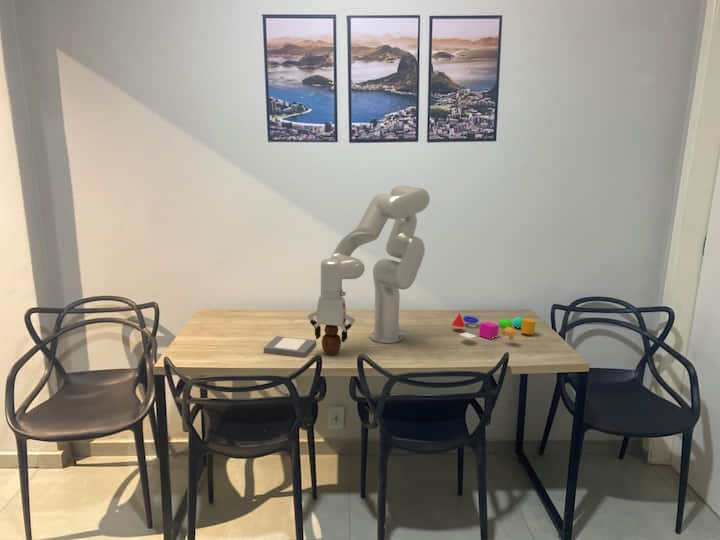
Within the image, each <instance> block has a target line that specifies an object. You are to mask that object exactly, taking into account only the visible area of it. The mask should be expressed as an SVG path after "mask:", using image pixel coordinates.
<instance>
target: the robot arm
mask: <svg viewBox="0 0 720 540" xmlns="http://www.w3.org/2000/svg"><path fill="white" fill-rule="evenodd" d="M430 198H431V197H430V194H429V193H428V191H427V190H426V189H424V188H422V187H417V186H415V187H414V186H408V185H407V186H406V185H398V186H395V187H393V188H392V189H391V191H390V194H389V193H387V194H386V193H379V194H376V195H375V196H374V197H373V198H372V199H371V201H370V203H369V205H368V207H367V209H366V210H365V212H364V214H363V216H362V217H361V219H360V221H359V223H358V225H357V226H356V227H355V228H354V229H353V230H352V231H350V232H349V233H348V234H347V235H346V236H345V237H343V238H342V239H341V240H340V242H338V243H337V246H336V247H335V249H334V251H333V253H332V255H331V257H330V258H325V259H323V260H322V261H321V262H320V296H319V297H318V300H317V307H316V311H314V312H312V313H309V314H308V315H307V318H308V320H309V323H310V325H312V327H313V328H314V336H315V339H316V340H318V339H320V338H321V330H322V329H321V325H325V326H326V325H332V326H338V327H339V328H340V329H341V330H342V331H341V343H344V342H345V341H346V340H347V339H348V330H349V329H350V328H351V327H352V326H353V325H354V323H355V321H356V320H355V318H354V317H352V316H350V315H349V314H347V309H346V301H345V296H346V295H347V292H346V291H343V280H356V279H359V278H361V276H362V275H364V273H365V265H364V263H363V261H362V260H360V259H358V258H357V257H354V256H353V257H352V254H353V253H354V251H355V250H357V249H358V248H359V247H361V246H363V245H366V244H368V243H371V242H374V241H376V240H378V238H379V236H380V235H381V232H382V231H383V228H384V227H385V225H386V223H387V222H388V219H392V220H394V223H393V225H392V228H391V230H390V231H391V232H390V233H389V236H388V239H387V242H386V245H385V250H386V253H387V254H388V256H391V257H394V258H397V259H400V261H397V260H394V259H389V258H383V259H379V260H378V261H376V263H375V264H374V266H373V268H372V277H373V283H374V330H373V331H372V332H371V333H370V339H371V340H372V341H374V342H376V343H378V344H379V343H381V344H395V343H398V342H401V341H402V340H403V337H407V338H410V331H408V330H407V329H402V328H401V325H399V324H400V301H401V300H400V299H401V298H400V297H401V296H400V290H407V289H409V288H411V287H412V286H413V284H414V282H415V280H416V277H417V275H418V272H419V270H420V267H421V264H422V262H423V259H424V256H425V251H426V249H425V243H424V241H423V239H422V238H419V237H418V236H414V235H415V232H416V228H417V223H418V218H417V215H416V214H418V213H421V212H422V211H424V210H425V209H426V208H427V207H428V206H429V204H430V200H431V199H430ZM314 317H316V320H315V319H314ZM346 321H348V322H349V323H348V324H347V323H346Z"/></svg>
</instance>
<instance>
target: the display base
mask: <svg viewBox="0 0 720 540" xmlns="http://www.w3.org/2000/svg"><path fill="white" fill-rule="evenodd" d="M316 347H317V339H316V340H315V339H306V338H298V337H289V336H288V337H287V336H281V335H276V336H275V337H274V338H273V339H272V340H270V342H269V343H267V344H266V345H264V347H263V354H271V355H278V356H279V355H280V356H288V357H297V358H305V359H306V357H308V356H309V354H311V352H312V351H313V350H314V349H315V348H316Z"/></svg>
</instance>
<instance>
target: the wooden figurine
mask: <svg viewBox="0 0 720 540" xmlns="http://www.w3.org/2000/svg"><path fill="white" fill-rule="evenodd" d="M324 333H325V334H323V336H322V339H321V346H322V350H323V353H324V354H326V355H328V356H336V355H338V354H339V353H340V349H341V346H342V345H341V344H342V337H341V336H340V334H338V333H339V326H332V325H325V327H324Z"/></svg>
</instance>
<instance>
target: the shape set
mask: <svg viewBox="0 0 720 540" xmlns="http://www.w3.org/2000/svg"><path fill="white" fill-rule="evenodd" d="M464 322H466V323H470V324H477V323H478V322H479V318H478V317H476V316H475V317H474V316H469V315H468V316H464V317H463V318H462V315H461V313H459V314H457V316H456V318H455V319H454V320H453V322H452V324H451V325H452V326H454V327H458V328H462V327H463V328H464V327H466V326H465V324H464ZM536 324H537V323H536V320H535V319H532V318H528V317H524V318H523V317H521V316H515V317H514V318H513V320H512V321H511V320H510V318H509V319H508V318H503V319H501V320H500V321H499V324H498V323H497V324H496V323H493V322H490V321H486V322H481V323H480V326H479V333H478V336H479V335H480V336H479V337H481V336H483V337H482V338H484V337H486V338H485V339H487V338H489V339H488V340H491V339H490V338H492V337H495V336H497V335H499V332H500V333H502V334H505V336H507V337H508V339H509V340H512V341H513V340H514V338H515V337H516V336H517V334H518V331H517V330H516V328H515V327H521V329H520V333H522V334H526V335H534V334H535V329H536ZM514 326H515V327H514ZM513 327H514V328H513ZM499 329H500V330H499ZM533 333H534V334H533ZM458 335H459V336H461V337H464V338H467V339H470V338H475V337H477V335H475V334H472V333H469V332H463V333H461V332H460V333H459V334H458ZM497 337H498V336H497Z"/></svg>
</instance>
